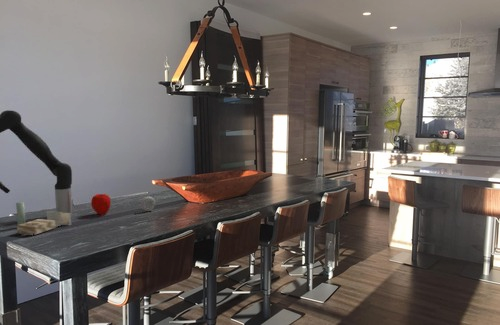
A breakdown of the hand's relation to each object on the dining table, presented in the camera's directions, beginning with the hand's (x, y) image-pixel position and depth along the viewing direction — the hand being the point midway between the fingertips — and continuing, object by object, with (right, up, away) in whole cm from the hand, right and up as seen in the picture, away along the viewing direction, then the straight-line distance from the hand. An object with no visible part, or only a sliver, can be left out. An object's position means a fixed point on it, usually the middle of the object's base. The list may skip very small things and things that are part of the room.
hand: (8, 192), depth 223 cm
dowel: (+4, -20, +6) cm, 21 cm away
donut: (+66, -16, +43) cm, 80 cm away
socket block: (+17, -21, -3) cm, 27 cm away
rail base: (+18, -21, 0) cm, 28 cm away
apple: (+38, -17, +35) cm, 55 cm away
